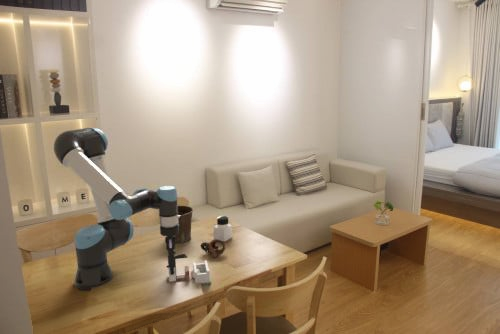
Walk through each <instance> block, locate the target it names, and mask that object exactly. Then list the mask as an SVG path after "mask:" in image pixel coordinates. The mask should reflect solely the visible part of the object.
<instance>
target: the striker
mask: <svg viewBox="0 0 500 334" xmlns="http://www.w3.org/2000/svg"><path fill="white" fill-rule="evenodd" d="M175 256H176V254H174V259H175ZM168 265H169V263H168V262H167V266H168ZM176 265H177V263H176V259H175V271H176V272H177V266H176ZM190 278H191V277H190V267H189V265H185V266H184V274H183V275H176V281H175V282H177V281H178V282H179V281H185V282H190V281H191V279H190ZM166 282H167V283H169V276H166ZM170 282H171V283H172V281H170Z"/></svg>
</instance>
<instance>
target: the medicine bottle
mask: <svg viewBox="0 0 500 334" xmlns="http://www.w3.org/2000/svg"><path fill="white" fill-rule="evenodd" d="M232 238H233V225H232V224H229V217H228V216H226V215H220V216H217V218H216V225H215V226H213V240H215V239H218V240H221V241H223V243H225V242H226V241H228V240H231V239H232Z"/></svg>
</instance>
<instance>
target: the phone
mask: <svg viewBox="0 0 500 334" xmlns="http://www.w3.org/2000/svg"><path fill="white" fill-rule="evenodd" d="M188 258H189V257H188V256H187V255H186V253H180V254H175V260H179V259H188Z"/></svg>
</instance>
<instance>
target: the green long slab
mask: <svg viewBox="0 0 500 334" xmlns="http://www.w3.org/2000/svg"><path fill="white" fill-rule="evenodd" d="M193 269H194V273H195V278H194V283H195V284H200V285H201V286H208V285H211V284H212V281H211V276H210V268H209V265H208V261H207V260H204V262H200V263H196V261H193V262H192V270H193ZM197 269H198V270H199V271H200V273H198V274H197Z"/></svg>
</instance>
